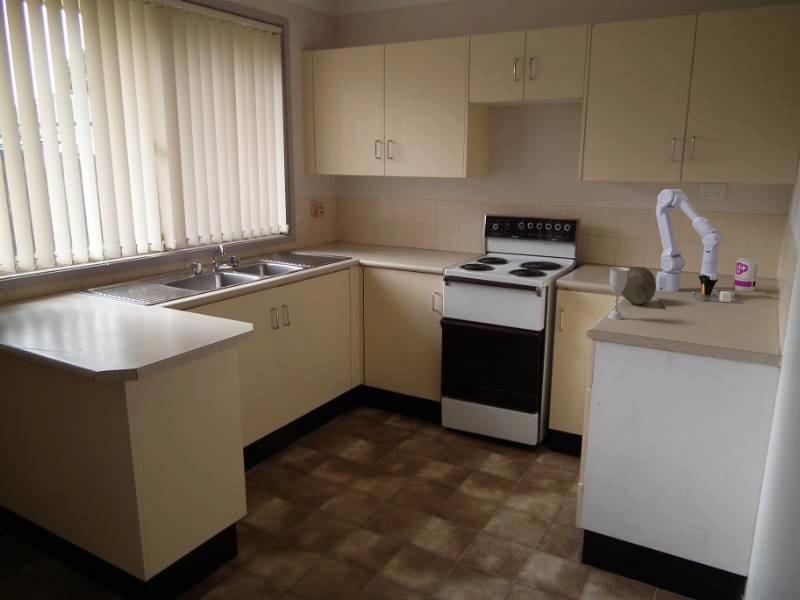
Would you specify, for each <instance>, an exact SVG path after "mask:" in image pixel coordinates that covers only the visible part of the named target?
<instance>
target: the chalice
mask: <svg viewBox="0 0 800 600" xmlns="http://www.w3.org/2000/svg"><path fill="white" fill-rule="evenodd" d="M628 268H629V267H622V266H621V267H620V266H618V267H617V266H612V267H609V268H608V269H609V271H610V273H609V285H610V289H611V291H612V294H614V295H615V298H614V303H613V306H614V308H613V310H612V311H610V312H609V314H608V316H607V318H608V319H609V318H610V320H616V321H617V320H620V321H621V320H623V317H622V313H621V311H619V310H618V307H619V303H618V302H619V295H622V294H621V293H622V291H623V290H624V288H625V286H626V284H627V275H628V271H629V269H628Z"/></svg>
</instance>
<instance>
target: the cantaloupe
mask: <svg viewBox="0 0 800 600" xmlns="http://www.w3.org/2000/svg"><path fill="white" fill-rule="evenodd" d="M627 268H628V269H629V271H628V275H627V284H626V286H625V288H624V290H623V291H622V293H621V294H620V295H622V296H623V297H624V298H625V300H627V302H629V303H632V304H634V305H637V306H642V305H645V304H647V303H649V302H650V301H651V300H652V299H653V297H654V296H655V295H656V291H657V289H656V277H655V275H654V274H653V272H651V270H650V269H648V268H647V267H643V266H630V267H627Z"/></svg>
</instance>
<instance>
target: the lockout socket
mask: <svg viewBox="0 0 800 600" xmlns="http://www.w3.org/2000/svg"><path fill="white" fill-rule="evenodd" d="M720 291H726V292H730V293H731V298H734V297H735V292H733V291H732V290H730V289H714V288H713V290H712V293H711V294H712V295H714V296H715V297H720Z"/></svg>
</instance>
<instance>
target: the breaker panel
mask: <svg viewBox="0 0 800 600" xmlns="http://www.w3.org/2000/svg"><path fill="white" fill-rule="evenodd" d="M689 293H690V295H692V296H693V297H694V298H695V299H696V300H698V301H699V302H700V303H714V304H735V305H744V303H743V302H742V301H741V300H739V299H737V298H736V297H735V296H734V298H731V301H730V302H722V301H720V300H719V297H715V296H714V295H712V293H711V297H703V296H701V293H702V292H696V291H692V292H689Z"/></svg>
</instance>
